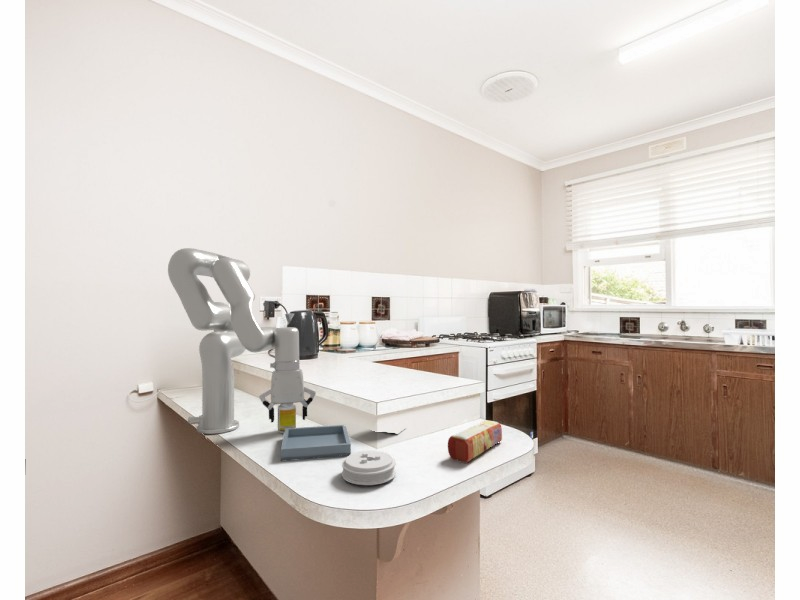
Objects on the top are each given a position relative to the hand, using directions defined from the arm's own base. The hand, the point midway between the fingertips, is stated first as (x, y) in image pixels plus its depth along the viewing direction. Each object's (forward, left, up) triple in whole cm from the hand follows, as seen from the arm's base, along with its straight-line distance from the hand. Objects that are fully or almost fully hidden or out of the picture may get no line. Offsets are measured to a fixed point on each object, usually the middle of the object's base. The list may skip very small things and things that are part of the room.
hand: (288, 420), depth 130 cm
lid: (+20, -39, -4) cm, 44 cm away
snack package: (+52, -28, -4) cm, 59 cm away
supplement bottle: (-1, 0, -4) cm, 4 cm away
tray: (+8, -16, -4) cm, 18 cm away
